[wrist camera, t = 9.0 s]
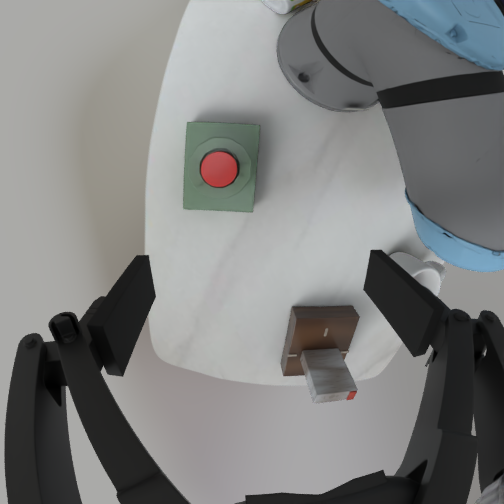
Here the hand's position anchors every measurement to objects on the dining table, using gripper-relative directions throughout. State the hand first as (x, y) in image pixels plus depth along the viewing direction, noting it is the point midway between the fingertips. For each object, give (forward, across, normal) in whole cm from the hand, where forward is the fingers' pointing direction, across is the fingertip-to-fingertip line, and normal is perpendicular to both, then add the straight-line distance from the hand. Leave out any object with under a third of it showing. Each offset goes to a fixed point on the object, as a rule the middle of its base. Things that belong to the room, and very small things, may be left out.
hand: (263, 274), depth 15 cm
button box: (+19, -3, +5) cm, 20 cm away
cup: (+19, +24, -10) cm, 32 cm away
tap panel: (+19, +11, -22) cm, 31 cm away
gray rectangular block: (+16, +11, -23) cm, 30 cm away
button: (+15, -3, +5) cm, 16 cm away
